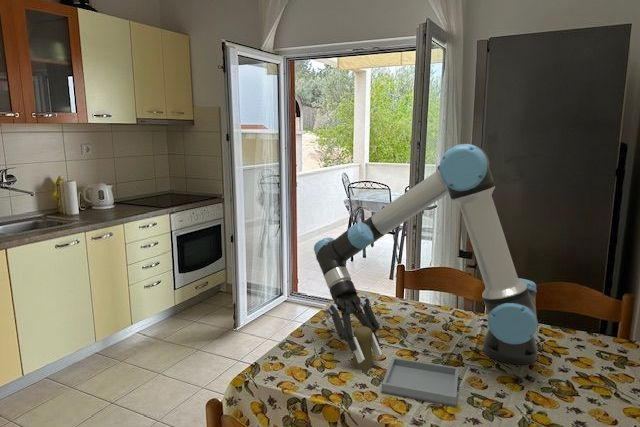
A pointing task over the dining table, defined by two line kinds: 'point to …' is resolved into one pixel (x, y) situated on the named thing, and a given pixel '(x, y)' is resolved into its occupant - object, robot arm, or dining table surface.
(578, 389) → the dining table surface
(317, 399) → the dining table surface
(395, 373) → the tray
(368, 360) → the cork
